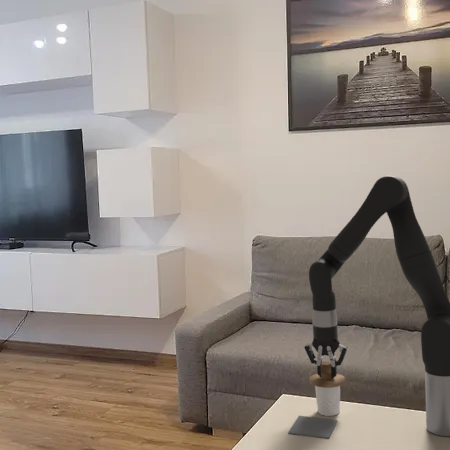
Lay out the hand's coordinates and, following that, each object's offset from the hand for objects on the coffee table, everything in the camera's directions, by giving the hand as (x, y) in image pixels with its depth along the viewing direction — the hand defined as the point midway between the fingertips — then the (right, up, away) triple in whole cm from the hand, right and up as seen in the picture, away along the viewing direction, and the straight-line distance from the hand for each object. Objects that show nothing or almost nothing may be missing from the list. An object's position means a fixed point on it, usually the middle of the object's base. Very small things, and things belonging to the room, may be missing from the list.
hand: (327, 376), depth 183 cm
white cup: (+1, -12, +1) cm, 12 cm away
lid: (0, -1, 0) cm, 1 cm away
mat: (-6, -13, -9) cm, 17 cm away
